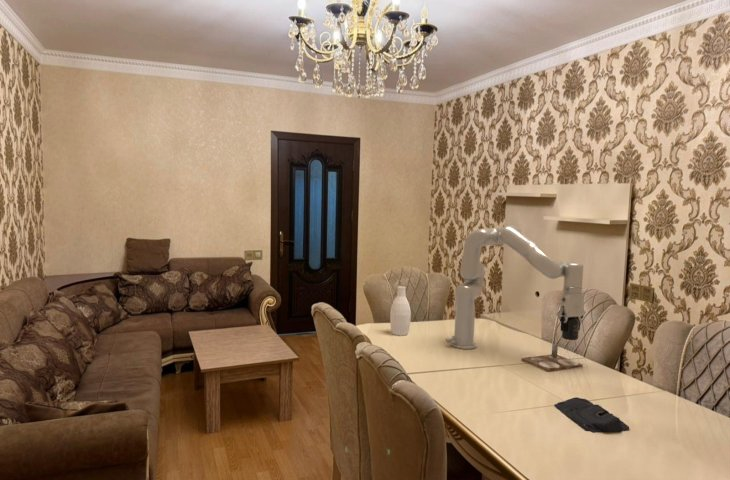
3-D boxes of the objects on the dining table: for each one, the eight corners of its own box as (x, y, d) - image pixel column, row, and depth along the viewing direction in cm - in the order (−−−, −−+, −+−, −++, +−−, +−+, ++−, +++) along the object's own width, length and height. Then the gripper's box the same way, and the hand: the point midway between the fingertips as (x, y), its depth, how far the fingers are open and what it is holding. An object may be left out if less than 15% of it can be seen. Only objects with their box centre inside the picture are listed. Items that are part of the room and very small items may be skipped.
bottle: (408, 337, 252) (410, 289, 251) (387, 335, 255) (389, 287, 253) (411, 332, 263) (413, 286, 262) (391, 330, 266) (392, 284, 264)
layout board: (548, 371, 204) (549, 355, 204) (521, 360, 219) (522, 344, 218) (582, 367, 212) (583, 351, 212) (554, 356, 227) (555, 341, 227)
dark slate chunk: (590, 404, 171) (591, 391, 171) (633, 433, 150) (634, 418, 149) (550, 405, 169) (551, 392, 169) (588, 435, 147) (589, 420, 147)
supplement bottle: (575, 336, 217) (576, 310, 216) (580, 340, 210) (582, 313, 209) (559, 336, 217) (560, 309, 216) (564, 340, 210) (565, 312, 210)
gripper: (564, 292, 205) (562, 334, 206) (593, 291, 212) (591, 331, 213) (551, 289, 212) (548, 329, 213) (580, 288, 219) (577, 327, 220)
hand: (570, 330), depth 213 cm, fingers closed on supplement bottle, 6 cm apart
